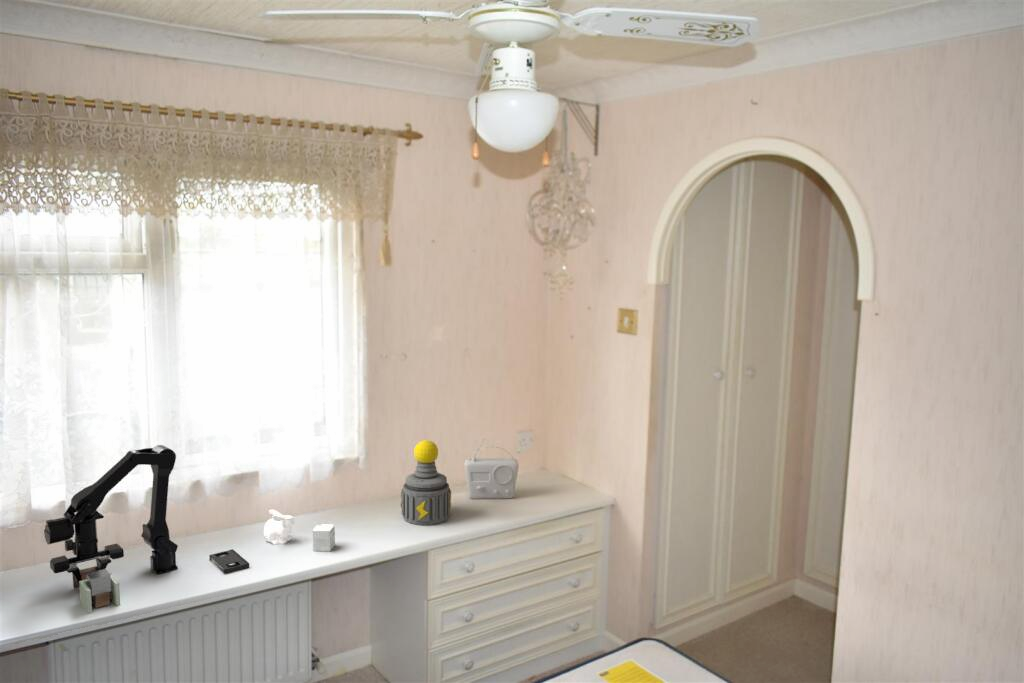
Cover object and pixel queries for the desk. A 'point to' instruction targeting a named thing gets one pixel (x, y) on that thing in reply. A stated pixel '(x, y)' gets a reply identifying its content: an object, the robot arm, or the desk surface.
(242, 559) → the vhs tape
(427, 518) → the decorative lamp
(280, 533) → the rabbit
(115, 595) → the cradle
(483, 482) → the radio
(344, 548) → the desk surface
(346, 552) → the desk surface
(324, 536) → the skincare box
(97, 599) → the brown wooden stepped block
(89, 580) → the block
